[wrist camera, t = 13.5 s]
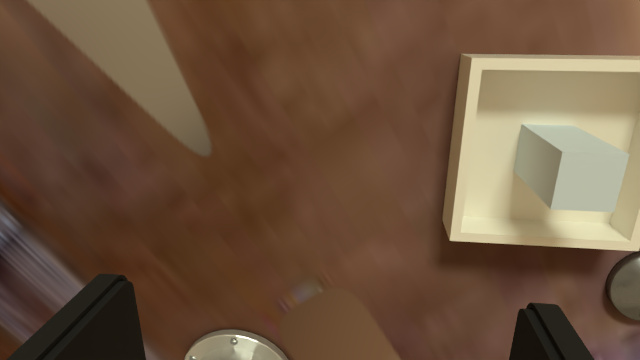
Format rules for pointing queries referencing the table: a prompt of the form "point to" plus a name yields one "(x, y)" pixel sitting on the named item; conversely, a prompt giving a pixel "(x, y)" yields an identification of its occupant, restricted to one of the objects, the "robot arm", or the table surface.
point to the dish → (503, 136)
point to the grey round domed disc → (625, 286)
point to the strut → (570, 167)
